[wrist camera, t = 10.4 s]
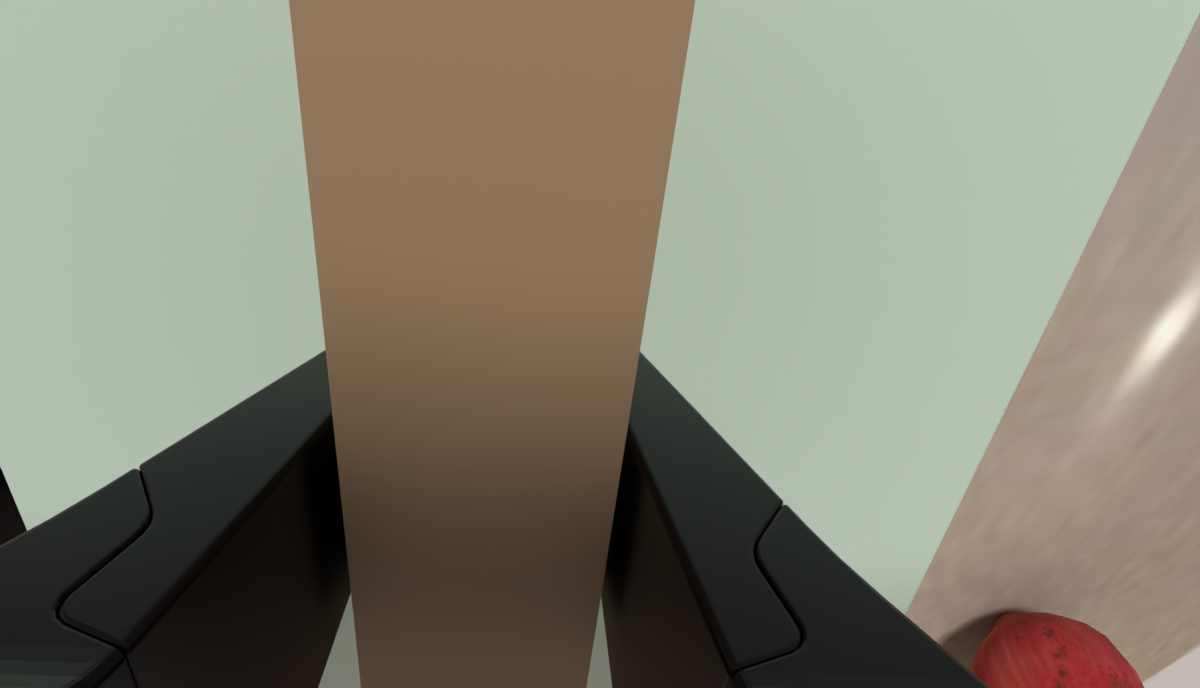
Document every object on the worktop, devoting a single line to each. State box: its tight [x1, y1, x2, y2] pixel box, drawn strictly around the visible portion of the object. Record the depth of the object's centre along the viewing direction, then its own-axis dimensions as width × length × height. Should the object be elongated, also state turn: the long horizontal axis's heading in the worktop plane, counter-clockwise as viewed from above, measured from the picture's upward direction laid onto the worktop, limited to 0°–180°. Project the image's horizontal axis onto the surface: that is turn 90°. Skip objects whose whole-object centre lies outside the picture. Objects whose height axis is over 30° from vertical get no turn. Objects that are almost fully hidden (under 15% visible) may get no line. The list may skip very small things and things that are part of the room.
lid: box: [0, 0, 1200, 688], centre depth 10 cm, size 21×15×6 cm
